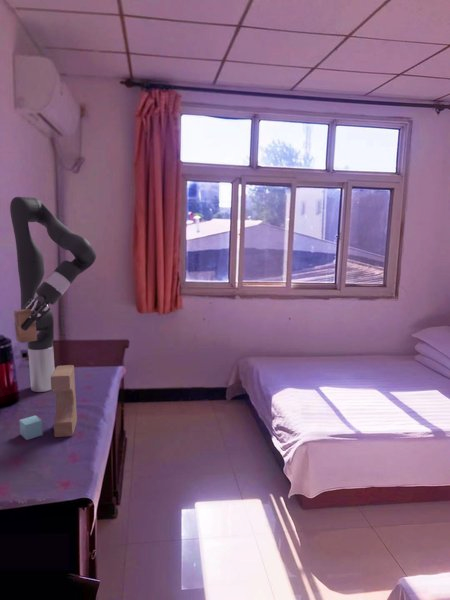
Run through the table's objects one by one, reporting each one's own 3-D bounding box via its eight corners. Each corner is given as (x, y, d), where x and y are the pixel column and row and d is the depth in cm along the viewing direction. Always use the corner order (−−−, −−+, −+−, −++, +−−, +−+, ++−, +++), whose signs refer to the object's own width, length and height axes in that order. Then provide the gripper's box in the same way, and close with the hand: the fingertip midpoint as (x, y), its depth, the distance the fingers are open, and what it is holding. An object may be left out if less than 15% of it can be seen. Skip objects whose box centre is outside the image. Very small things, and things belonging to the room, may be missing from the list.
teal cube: (20, 434, 140) (19, 419, 139) (36, 429, 144) (35, 415, 143) (26, 440, 137) (25, 425, 136) (42, 435, 140) (41, 420, 139)
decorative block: (72, 436, 139) (69, 376, 135) (53, 438, 138) (49, 376, 135) (77, 421, 150) (74, 364, 146) (60, 422, 149) (56, 365, 145)
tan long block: (16, 339, 148) (13, 310, 146) (31, 337, 152) (29, 308, 150) (21, 342, 145) (19, 313, 143) (37, 340, 148) (35, 310, 146)
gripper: (37, 278, 155) (3, 317, 149) (54, 283, 145) (18, 324, 139) (52, 292, 159) (20, 330, 153) (70, 297, 149) (36, 338, 143)
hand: (19, 327), depth 146 cm, fingers closed on tan long block, 5 cm apart
